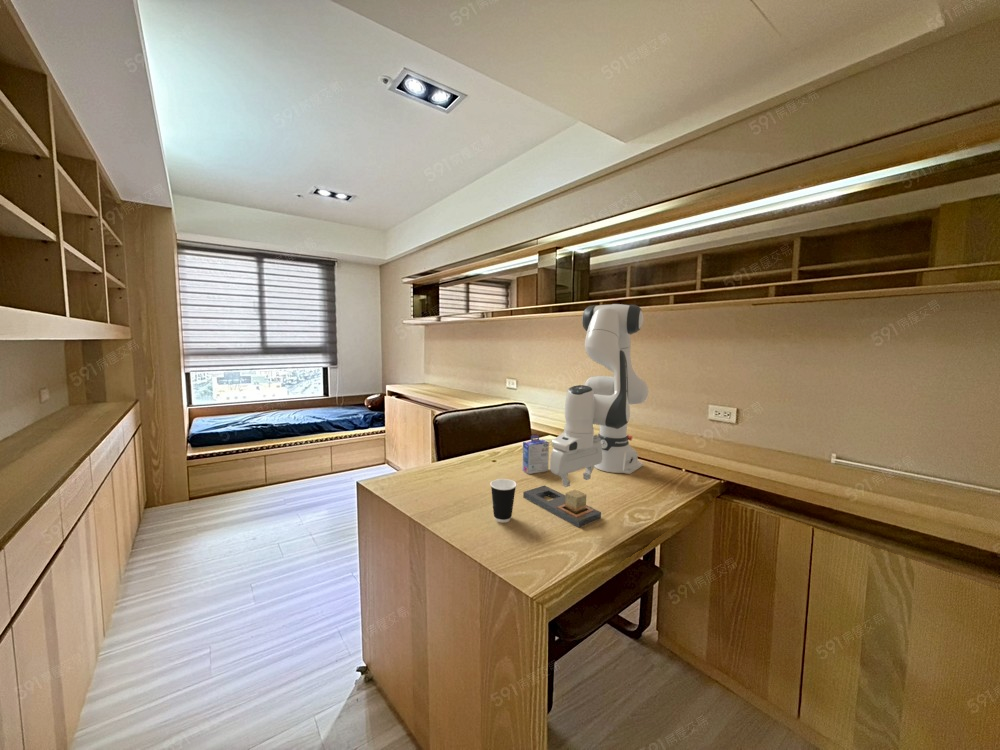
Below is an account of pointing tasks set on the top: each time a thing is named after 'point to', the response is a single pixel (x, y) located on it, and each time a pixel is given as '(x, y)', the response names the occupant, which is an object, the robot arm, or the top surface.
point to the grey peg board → (560, 506)
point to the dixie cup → (503, 499)
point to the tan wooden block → (575, 502)
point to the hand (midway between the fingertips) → (576, 482)
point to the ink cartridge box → (535, 455)
